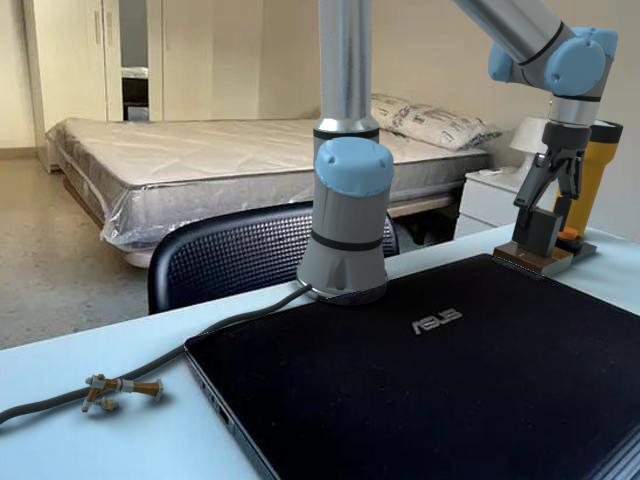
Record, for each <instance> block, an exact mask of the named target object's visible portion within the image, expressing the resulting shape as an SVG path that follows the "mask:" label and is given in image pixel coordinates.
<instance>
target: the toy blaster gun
mask: <svg viewBox="0 0 640 480" xmlns="http://www.w3.org/2000/svg"><path fill="white" fill-rule="evenodd" d="M113 379H114V378H106V376H105V374H104V373H98V375H97V374H92V375H91V376H88V377H86V378H85V379H84V383H85V384H86V385H89V386H90V387H92V388H91V390H90V392H89V394H88V396H87V397H84V398H85V399H84V400H83V404H82V407H81V413H84V414H87V413H88V411H89V410H90V408H91V407H92V405H93V406H96V408H98V407H100V410H101V411H102V412H103V410H110V411H113V410H114V408H118V407H119V404H120V403H119V401H116V400H115V397H113V398H106V396H104V395H103V397H102V399H100V400H99V398H98V399H97V400H95V399H96V397H98V396H100V395H101V394H103V393H104V392H107V391H108V390H107V389H110V390H114V392H117V393H118V392H120V393H129V394H132V393H138V394H143V395H147V396H151V397H153V399H154V401H157V402H159V401H160V399H161V396H162V395H163V391H164V389H165V385H164V384H163V380H162V378H161V377H160V378H156V380H155V381H152V382H151V381H150V382H134V380H132V381H128V380H124V379H122V381H120V379H118V378H117V380H113ZM99 388H100V389H101V390H99V391H98V389H99ZM106 390H107V391H106ZM97 391H98V392H97ZM94 400H95V401H94Z"/></svg>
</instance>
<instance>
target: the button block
mask: <svg viewBox="0 0 640 480" xmlns="http://www.w3.org/2000/svg"><path fill="white" fill-rule="evenodd" d="M554 247H557V248H559V249H562V250H565V251H567V252H570V253H572V254H574V255H573V258H572V261H571V264H570V266H572V265H573V264H575V263H578V262H580V261H583V260H584V259H586V258H589V257H592V256H593V255H595V254H596V252H597V249H598V246H597V245H594V244H592V243H590V242H586V241H585V239H584V237H581V236H579V235H578V234H577V237H576V240H568V239H564V238H561V237H559V236H557V239H556V242H555V246H554Z"/></svg>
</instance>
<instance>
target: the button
mask: <svg viewBox="0 0 640 480" xmlns="http://www.w3.org/2000/svg"><path fill="white" fill-rule="evenodd" d="M577 234H578V231H577V230H575V229H573V228H569V227H564V231H563V232H558V235H557V236H559V237H561V238H564V239H568V240H576V237H577Z"/></svg>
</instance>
